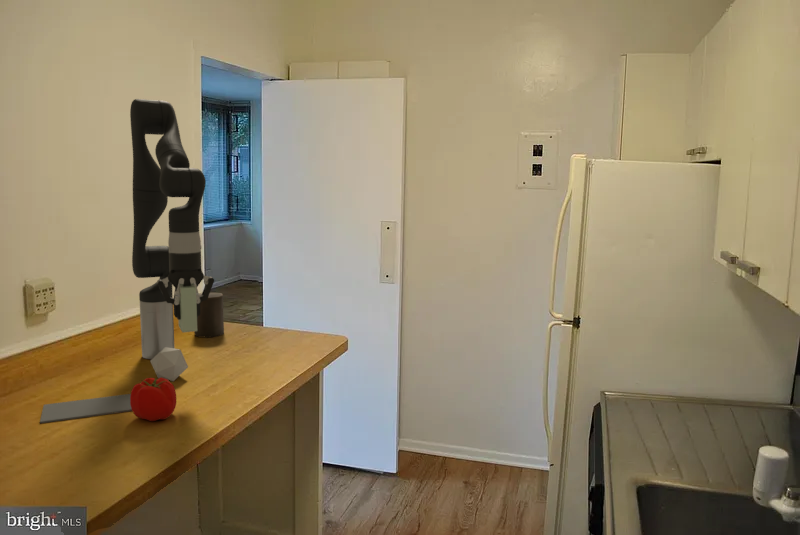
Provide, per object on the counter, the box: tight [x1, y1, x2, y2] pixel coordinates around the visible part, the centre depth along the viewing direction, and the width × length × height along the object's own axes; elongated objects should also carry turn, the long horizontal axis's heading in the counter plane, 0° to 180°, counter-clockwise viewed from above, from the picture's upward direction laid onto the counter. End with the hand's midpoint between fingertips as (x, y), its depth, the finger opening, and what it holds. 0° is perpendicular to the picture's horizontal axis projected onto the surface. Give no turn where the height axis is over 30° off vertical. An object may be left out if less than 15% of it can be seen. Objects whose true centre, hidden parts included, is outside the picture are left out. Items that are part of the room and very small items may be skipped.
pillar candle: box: [193, 292, 225, 338], centre depth 213 cm, size 10×10×15 cm
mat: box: [39, 393, 133, 424], centre depth 146 cm, size 11×20×1 cm, turn 116°
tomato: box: [130, 377, 177, 422], centre depth 141 cm, size 11×11×9 cm
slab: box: [178, 286, 197, 333], centre depth 155 cm, size 7×4×11 cm, turn 27°
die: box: [150, 347, 189, 382], centre depth 168 cm, size 8×9×10 cm
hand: (187, 317), depth 156 cm, fingers closed on slab, 3 cm apart
